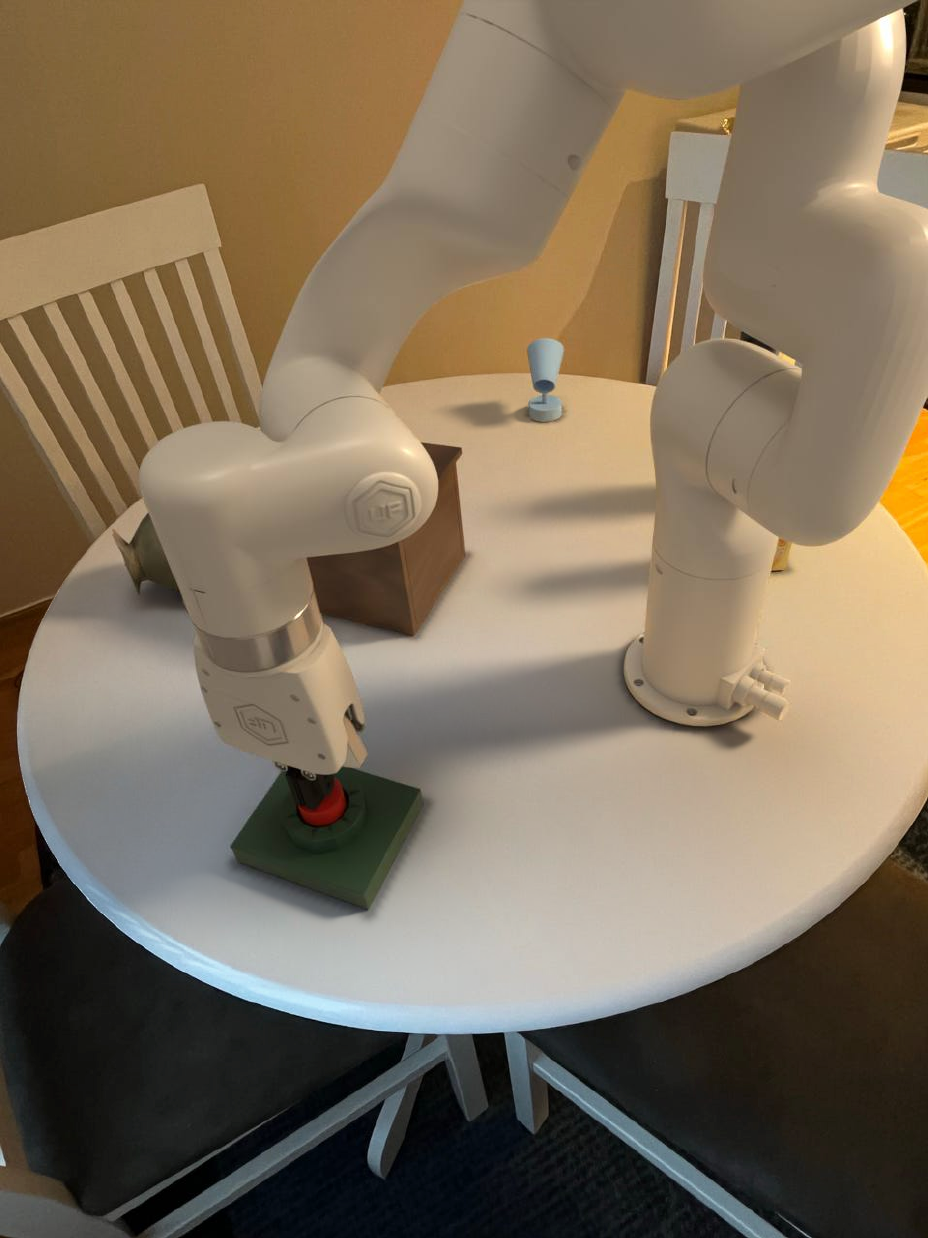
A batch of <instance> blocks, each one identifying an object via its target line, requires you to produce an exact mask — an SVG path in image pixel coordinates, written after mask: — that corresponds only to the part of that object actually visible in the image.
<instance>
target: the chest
mask: <svg viewBox="0 0 928 1238" xmlns="http://www.w3.org/2000/svg"><path fill="white" fill-rule="evenodd" d="M458 477H459V476H458V467H457V462H456V463H455V465H454V466H453V467H452V469H451V470H450V471H449V473H448V474H447V475H446V477H445V478H444V479H443V481H442V482H441V483H440V485H439V486H438V496H437V501H436V504H435V507H434V509H433V511H432V513H431V515H430V517H429V518H428V519H427V521H426V522H425V523H424V524H423V525H422V526H421V527H420V528H419V529H418V530H417V531H415V532H414V533H413V534H411V535H410V536H408V537H407V538H405V539H403V540H401V541H398V542H396V543H394V544H391V545H389V546H385V547H381V548H377V549H373V550H367V551H360V552H353V553H344V554H333V555H324V556H315V557H306V558H307V562H308V566H309V570H310V574H311V578H312V581H313V586H314V590H315V594H316V598H317V602H318V606H319V610H320V613H321V615H326V616H330V617H334V618H338V619H343V620H347V621H352V622H355V623H359V624H364V625H368V626H372V627H376V628H380V629H385V630H389V631H393V632H398V633H402V634H405V635H410V636H416V634H417V632H418V631H419V629H420V627H421V626H422V624H423V622H424V621H425V620H426V618H427V616H428V615H429V613H430V611H431V610H432V608H433V607H434V605H435V604H436V602H437V601H438V599H439V597H440V596H441V594H442V593H443V591H444V590H445V588H446V587H447V585H448V583H449V582H450V580H451V579H452V578H453V576H454V574H455V573H456V571H457V569H458V568H459V566H460V565H461V563H462V561H463V560H464V559H465V557H466V546H465V537H464V527H463V517H462V506H461V497H460V487H459V478H458Z"/></svg>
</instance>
